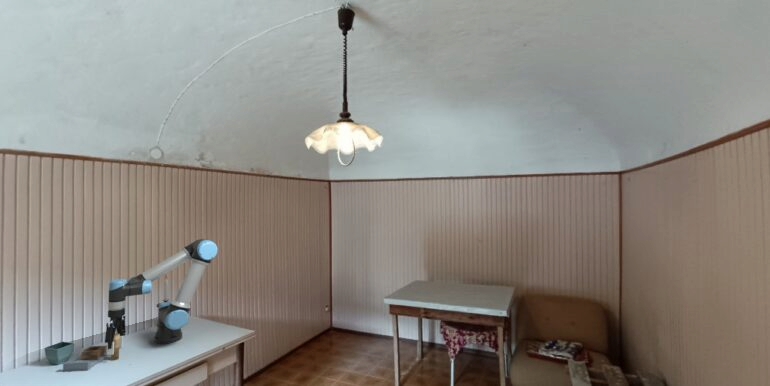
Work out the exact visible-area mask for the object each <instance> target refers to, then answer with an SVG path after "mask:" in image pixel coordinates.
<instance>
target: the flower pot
mask: <svg viewBox="0 0 770 386" xmlns="http://www.w3.org/2000/svg"><path fill="white" fill-rule="evenodd" d="M74 348H75V342H68V341H60V342H57V343H54V344H51V345H49V346H45V347H44V354H45V358H46V361H48V363H49V364H52V365H61V364H64V363H65V362H69V360H70V359H71V357H72V355H73V353H74Z"/></svg>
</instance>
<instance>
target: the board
mask: <svg viewBox="0 0 770 386" xmlns="http://www.w3.org/2000/svg"><path fill="white" fill-rule="evenodd" d="M108 357H110V355H107V353H106V354H104V355H103V356H101V357H100V358H98V359H84V360H81V358H79V359H77V360H76V361H66V362H63V363H62V372H63V373H65V372H69V373H70V372H85V371H86V372H87V371H89V370H91V369H92V368H94V367H95V366H96V365H98V364H99V363H101V362H102V361H103V360H105V359H107V358H108Z"/></svg>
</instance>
